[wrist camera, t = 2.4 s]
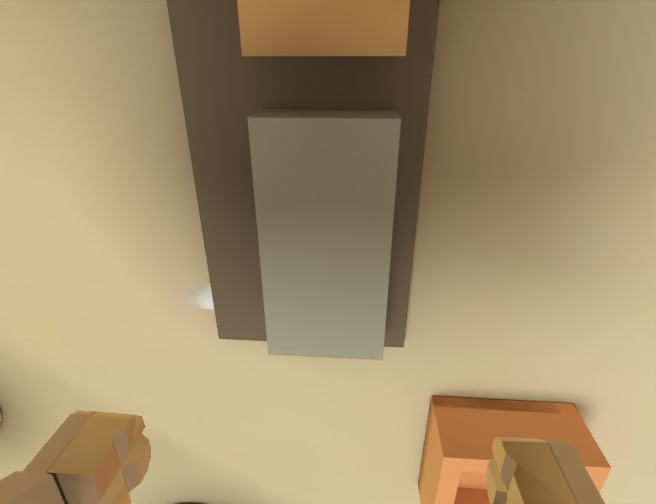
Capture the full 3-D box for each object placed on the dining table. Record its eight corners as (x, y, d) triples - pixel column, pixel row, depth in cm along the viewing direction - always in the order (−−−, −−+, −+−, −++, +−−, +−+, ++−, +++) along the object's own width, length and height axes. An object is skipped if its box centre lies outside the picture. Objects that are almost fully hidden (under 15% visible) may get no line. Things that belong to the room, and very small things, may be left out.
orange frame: (431, 395, 24) (443, 457, 20) (572, 403, 23) (611, 468, 20) (417, 482, 27) (426, 547, 24) (540, 491, 27) (567, 558, 23)
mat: (108, -435, 11) (95, -459, 11) (483, -467, 10) (490, -494, 10) (222, 331, 23) (219, 338, 22) (402, 340, 22) (403, 347, 22)
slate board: (260, 109, 17) (247, 117, 15) (396, 110, 16) (401, 118, 14) (276, 326, 22) (268, 354, 20) (380, 331, 21) (382, 360, 19)
